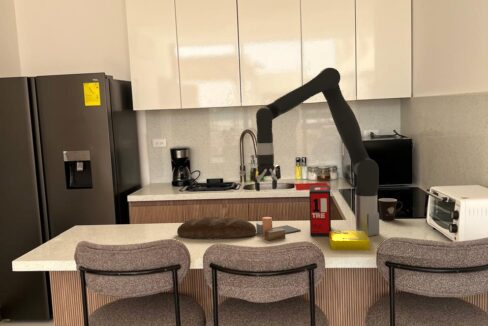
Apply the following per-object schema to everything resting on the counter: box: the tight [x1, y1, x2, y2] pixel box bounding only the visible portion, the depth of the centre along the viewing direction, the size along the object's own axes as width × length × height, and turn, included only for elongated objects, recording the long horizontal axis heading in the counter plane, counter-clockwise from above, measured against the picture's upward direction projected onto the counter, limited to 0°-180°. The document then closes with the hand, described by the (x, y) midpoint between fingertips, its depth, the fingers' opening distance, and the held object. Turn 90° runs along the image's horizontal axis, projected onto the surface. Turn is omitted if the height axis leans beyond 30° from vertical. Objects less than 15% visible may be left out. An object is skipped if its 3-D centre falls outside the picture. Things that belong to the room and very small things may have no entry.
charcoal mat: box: [272, 224, 302, 235], centre depth 193 cm, size 11×9×1 cm
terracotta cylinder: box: [261, 216, 273, 238], centre depth 185 cm, size 4×4×8 cm
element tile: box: [328, 229, 371, 252], centre depth 167 cm, size 15×15×5 cm
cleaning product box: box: [308, 185, 332, 238], centre depth 187 cm, size 16×9×20 cm, turn 168°
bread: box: [176, 216, 257, 240], centre depth 189 cm, size 16×36×8 cm, turn 83°
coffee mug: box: [378, 197, 404, 222], centre depth 206 cm, size 12×9×10 cm
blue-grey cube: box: [255, 221, 263, 235], centre depth 190 cm, size 4×4×4 cm
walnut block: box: [264, 228, 286, 242], centre depth 180 cm, size 4×8×4 cm, turn 118°
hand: (266, 189), depth 183 cm, fingers open, 8 cm apart
